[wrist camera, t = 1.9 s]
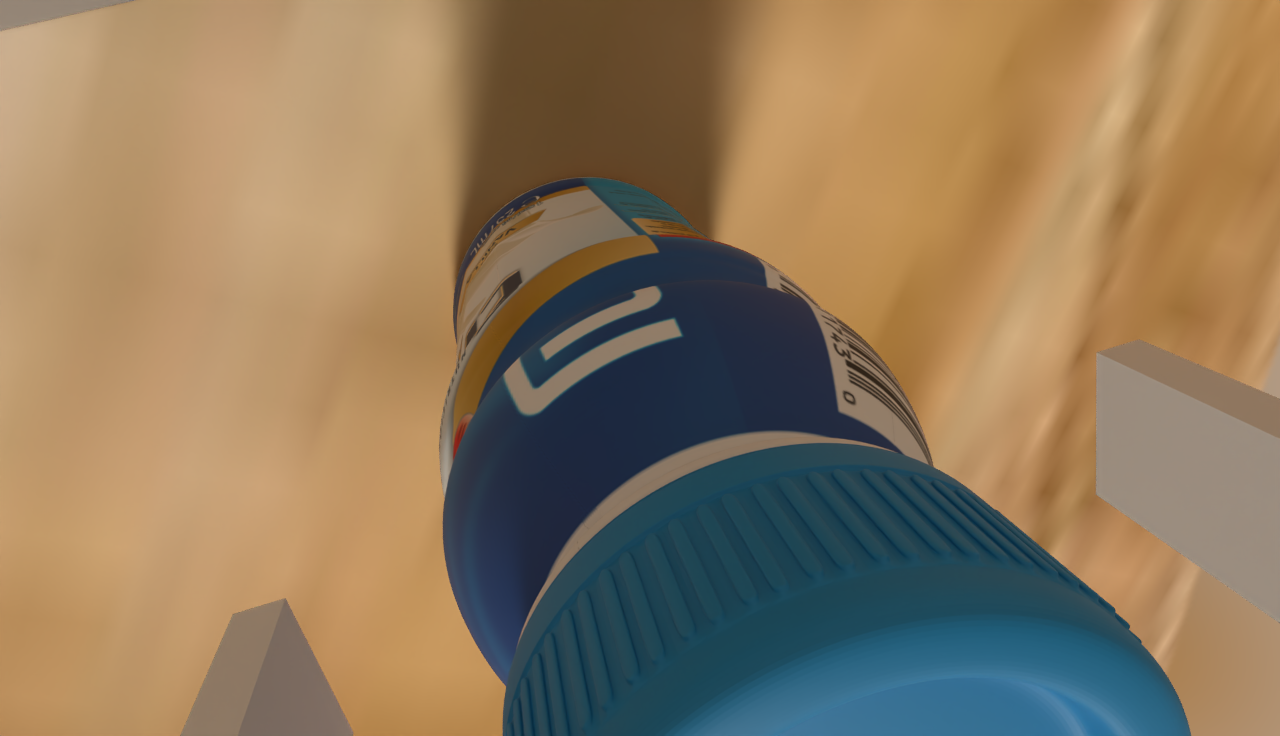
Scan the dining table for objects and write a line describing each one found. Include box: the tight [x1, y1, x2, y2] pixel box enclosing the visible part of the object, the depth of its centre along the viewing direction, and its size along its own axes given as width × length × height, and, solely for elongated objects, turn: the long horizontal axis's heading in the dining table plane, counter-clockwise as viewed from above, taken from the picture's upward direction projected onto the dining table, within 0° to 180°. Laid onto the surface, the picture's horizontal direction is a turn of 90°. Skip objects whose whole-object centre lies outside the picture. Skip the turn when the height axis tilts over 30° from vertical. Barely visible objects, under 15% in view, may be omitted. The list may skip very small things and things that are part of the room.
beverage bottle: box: [439, 177, 1191, 736], centre depth 16 cm, size 8×8×20 cm
